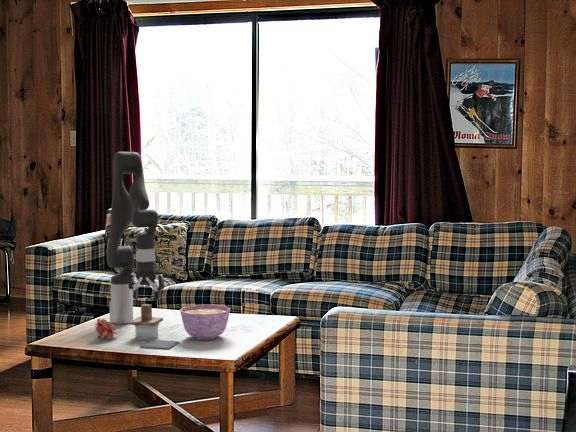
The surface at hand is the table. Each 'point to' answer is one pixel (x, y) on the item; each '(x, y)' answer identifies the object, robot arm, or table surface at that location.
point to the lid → (146, 317)
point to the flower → (105, 329)
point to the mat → (159, 344)
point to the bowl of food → (205, 320)
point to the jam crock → (146, 332)
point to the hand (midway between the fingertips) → (146, 300)
